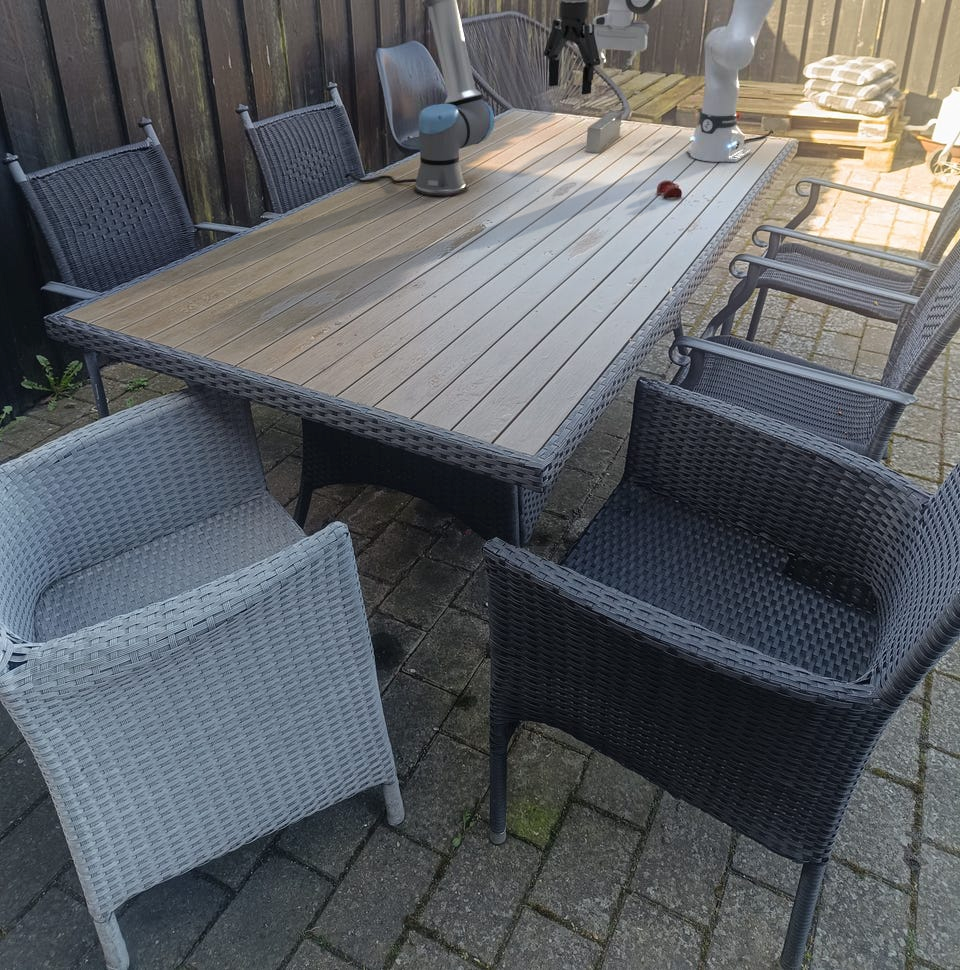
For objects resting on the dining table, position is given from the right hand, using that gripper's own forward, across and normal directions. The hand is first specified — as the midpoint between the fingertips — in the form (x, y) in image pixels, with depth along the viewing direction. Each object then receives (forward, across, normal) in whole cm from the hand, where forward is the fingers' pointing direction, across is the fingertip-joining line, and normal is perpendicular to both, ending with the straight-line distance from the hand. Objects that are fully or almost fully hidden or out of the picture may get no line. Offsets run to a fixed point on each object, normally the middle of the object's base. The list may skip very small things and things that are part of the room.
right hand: (616, 64), depth 296 cm
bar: (+25, 0, +8) cm, 26 cm away
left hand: (-6, -9, +79) cm, 79 cm away
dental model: (+25, -36, +60) cm, 75 cm away
